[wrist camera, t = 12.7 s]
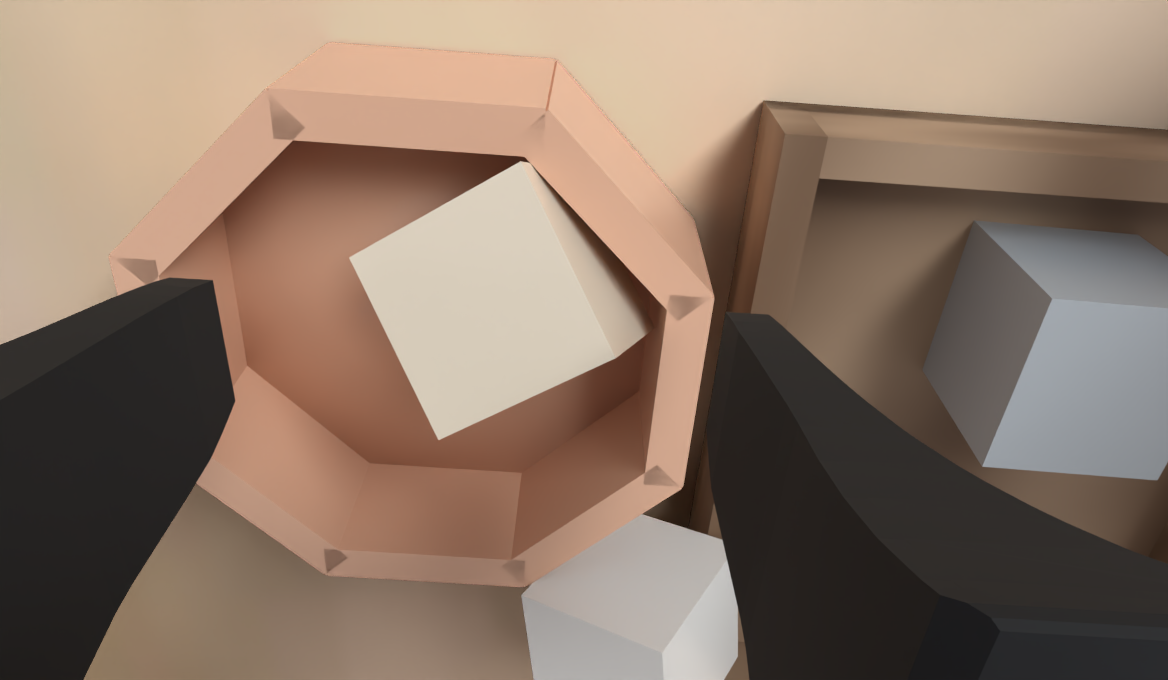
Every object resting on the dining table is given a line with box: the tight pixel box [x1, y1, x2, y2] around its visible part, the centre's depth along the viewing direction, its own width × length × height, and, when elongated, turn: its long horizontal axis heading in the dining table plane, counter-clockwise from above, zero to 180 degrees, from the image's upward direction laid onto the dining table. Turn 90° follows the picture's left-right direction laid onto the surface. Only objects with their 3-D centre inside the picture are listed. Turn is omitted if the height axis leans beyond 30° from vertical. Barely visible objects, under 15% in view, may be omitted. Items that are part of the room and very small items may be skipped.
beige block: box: [349, 161, 654, 440], centre depth 15 cm, size 3×4×3 cm
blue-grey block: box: [922, 220, 1168, 480], centre depth 16 cm, size 3×4×3 cm
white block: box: [521, 514, 738, 680], centre depth 19 cm, size 3×4×3 cm
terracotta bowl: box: [109, 42, 714, 587], centre depth 17 cm, size 10×10×4 cm
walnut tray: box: [688, 101, 1168, 680], centre depth 20 cm, size 12×16×2 cm
